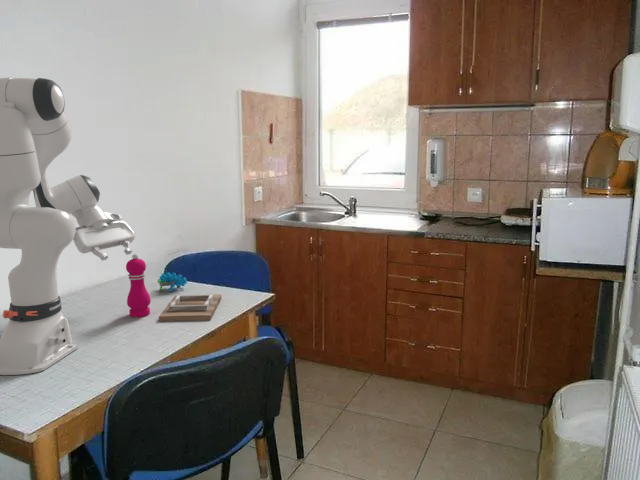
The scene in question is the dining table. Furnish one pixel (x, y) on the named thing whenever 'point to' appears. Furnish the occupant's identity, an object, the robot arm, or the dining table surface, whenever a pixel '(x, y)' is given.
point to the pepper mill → (137, 288)
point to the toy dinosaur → (171, 280)
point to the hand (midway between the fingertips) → (117, 256)
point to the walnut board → (190, 308)
